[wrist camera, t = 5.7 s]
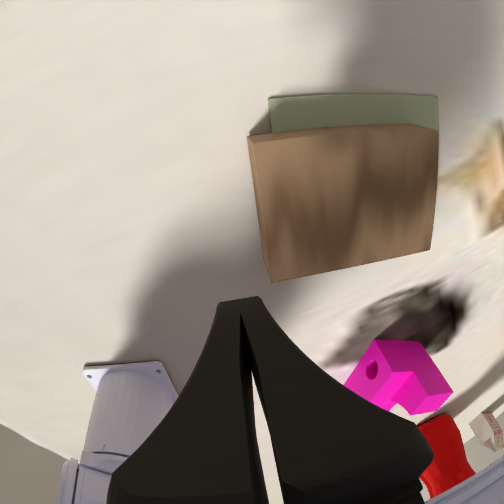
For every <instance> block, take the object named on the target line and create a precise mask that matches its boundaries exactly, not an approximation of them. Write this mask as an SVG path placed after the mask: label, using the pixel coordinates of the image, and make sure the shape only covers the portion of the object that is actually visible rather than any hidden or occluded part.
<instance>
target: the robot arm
mask: <svg viewBox="0 0 504 504" xmlns="http://www.w3.org/2000/svg"><path fill="white" fill-rule="evenodd" d="M251 370H252V371H251ZM82 372H83V374H84V375H85V377H86V378H87V380H88V381H89V382H90V384H91V385H92V387H93V388H94V389H95V391H96V396H95V400H94V404H93V408H92V412H91V417H90V421H89V425H88V430H87V435H86V439H85V444H84V449H83V451H82V455H81V460H80V464H78V460H76V459H74V458H71V459H70V460H68V461H66V462H64V465H63V469H62V473H61V478H60V483H59V489H58V495H57V502H56V504H269V501H268V496H267V491H266V486H265V481H264V475H263V470H262V465H261V459H260V454H259V448H258V443H257V437H256V428H255V416H254V401H253V386H252V374H253V377H254V380H255V384H256V387H257V391H258V394H259V398H260V401H261V404H262V408H263V411H264V414H265V418H266V421H267V425H268V428H269V432H270V437H271V442H272V447H273V452H274V457H275V462H276V467H277V472H278V477H279V482H280V487H281V491H282V496H283V501H284V504H504V455H503V456H502V457H500V458H499V459H497V460H496V461H495V462H493V463H492V464H490V465H489V466H487V467H486V468H484V469H483V470H481V471H479V472H478V473H476V474H475V475H473V476H471V477H470V478H468V479H466V480H465V481H463V482H461V483H460V484H458V485H456V486H454V487H453V488H451V489H449V490H447V491H445V492H443V493H441V494H440V495H438V496H436V497H434V498H432V499H430V500H428V501H426V502H424V500H423V498H422V496H421V493H420V491H421V490H422V489H423V486H422V484H421V482H420V480H419V477H420V475H421V474H422V473H423V472H424V471H425V470H426V469H427V468H428V466H429V465H430V464H431V462H432V461H433V458H434V452H433V450H432V448H431V446H430V444H429V442H428V441H427V439H426V438H425V436H424V435H423V434H422V432H421V431H420V430H419V428H418V427H417V426H416V424H415V423H414V422H411V421H409V420H406V419H404V418H402V417H399V416H397V415H395V414H393V413H391V412H389V411H387V410H384V409H382V408H380V407H379V406H377V405H375V404H373V403H371V402H369V401H368V400H366V399H364V398H362V397H361V396H359V395H358V394H356V393H355V392H353V391H351V390H350V389H348V388H347V387H345V386H344V385H342V384H341V383H339V382H338V381H336V380H335V379H334V378H332V377H331V376H330V375H329V374H327V373H326V372H325V371H323V370H322V369H321V368H320V367H319V366H317V365H316V364H315V363H314V362H313V361H312V360H311V359H309V358H308V357H307V356H306V355H305V354H304V353H303V352H302V351H301V350H300V349H299V348H298V347H297V346H296V345H295V344H294V343H293V342H292V341H291V339H290V338H289V337H288V336H287V335H286V334H285V332H284V331H283V330H282V329H281V328H280V327H279V325H278V324H277V323H276V322H275V320H274V319H273V317H272V316H271V315H270V313H269V312H268V310H267V309H266V307H265V305H264V304H263V302H262V300H261V298H260V297H258V296H255V297H249V298H243V299H237V300H231V301H225V302H220V303H219V304H218V305H217V309H216V314H215V318H214V321H213V324H212V327H211V330H210V333H209V336H208V338H207V341H206V344H205V346H204V349H203V351H202V353H201V355H200V357H199V360H198V362H197V364H196V366H195V368H194V370H193V372H192V374H191V376H190V378H189V380H188V381H187V383H186V385H185V387H184V388H183V390H182V392H181V393H180V395H178V394H177V392H176V390H175V388H174V386H173V384H172V382H171V380H170V378H169V376H168V374H167V372H166V370H165V368H164V366H163V364H162V363H161V362H159V361H151V362H141V363H130V364H118V365H105V366H89V367H84V368H83V370H82Z"/></svg>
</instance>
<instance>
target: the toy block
mask: <svg viewBox="0 0 504 504" xmlns="http://www.w3.org/2000/svg"><path fill="white" fill-rule="evenodd" d="M344 386H345V387H347V388H348V389H350V390H351V391H353V392H355V393H356V394H358V395H359V396H361V397H362V398H364V399H366V400H368V401H369V402H371V403H373V404H375V405H377V406H379V407H380V408H382V409H384V410H387V411H389V410H390V409H391V408H392V407H393V406H394V405H395V404H396V403H398V404H400V405H401V406H402V407H404V408H405V409H406V410H407V412H408V413H409V414H410V415H415V414H421V413H427V412H432V411H437V410H438V408H439V407H440V406H441V405H442V404H443V403H444V402H445V401H446V400H447V399H448V397H449V396H450V395H451V394H452V393H453V391H452V389H451V388H450V386H449V385H448V383H447V382H446V380H445V378H444V377H443V375H442V374H441V372H440V371H439V369H438V368H437V366H436V365H435V364H434V362H433V361H432V359H431V358H430V356H429V355H428V353H427V352H426V350H425V349H424V348H423V346H422V345H421V343H420V342H419V341H398V340H380V339H374V340H373V341H372V343H371V345H370V346H369V348H368V349H367V351H366V352H365V354H364V356H363V357H362V359H361V360H360V362H359V363H358V365H357V366H356V368H355V369H354V371H353V372H352V373H351V375H350V376H349V378H348V379H347V381H346V382H345V384H344Z"/></svg>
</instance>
